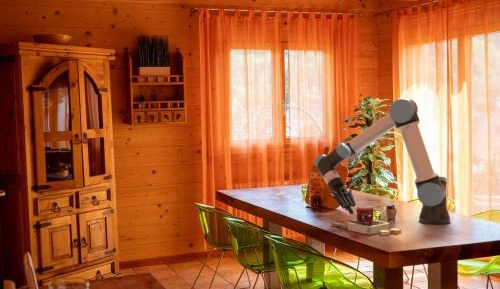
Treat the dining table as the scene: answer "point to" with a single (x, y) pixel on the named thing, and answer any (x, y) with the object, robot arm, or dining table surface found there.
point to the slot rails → (343, 225)
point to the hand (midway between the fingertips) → (357, 218)
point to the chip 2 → (395, 231)
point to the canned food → (365, 215)
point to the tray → (369, 227)
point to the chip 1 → (384, 232)
